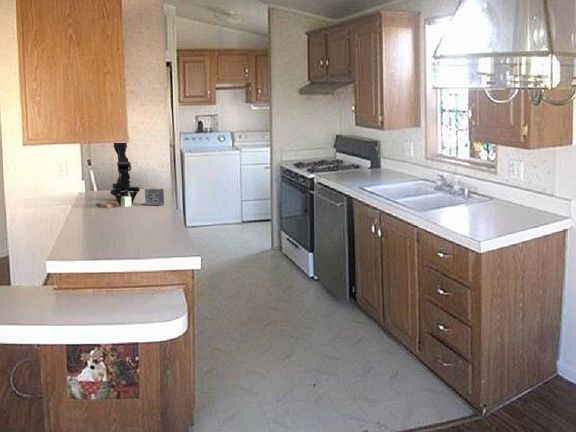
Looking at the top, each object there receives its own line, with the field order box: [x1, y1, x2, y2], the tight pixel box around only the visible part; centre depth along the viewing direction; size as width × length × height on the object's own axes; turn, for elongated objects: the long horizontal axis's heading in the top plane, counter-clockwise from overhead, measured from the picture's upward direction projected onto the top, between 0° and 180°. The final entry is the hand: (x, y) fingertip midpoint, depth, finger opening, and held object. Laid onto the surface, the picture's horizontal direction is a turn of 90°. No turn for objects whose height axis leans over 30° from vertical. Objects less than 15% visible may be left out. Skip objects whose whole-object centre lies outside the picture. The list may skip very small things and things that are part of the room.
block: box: [119, 195, 133, 208], centre depth 434 cm, size 5×5×6 cm
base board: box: [95, 200, 121, 209], centre depth 435 cm, size 12×12×2 cm
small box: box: [144, 188, 165, 207], centre depth 434 cm, size 11×6×10 cm, turn 71°
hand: (125, 204), depth 434 cm, fingers open, 9 cm apart
